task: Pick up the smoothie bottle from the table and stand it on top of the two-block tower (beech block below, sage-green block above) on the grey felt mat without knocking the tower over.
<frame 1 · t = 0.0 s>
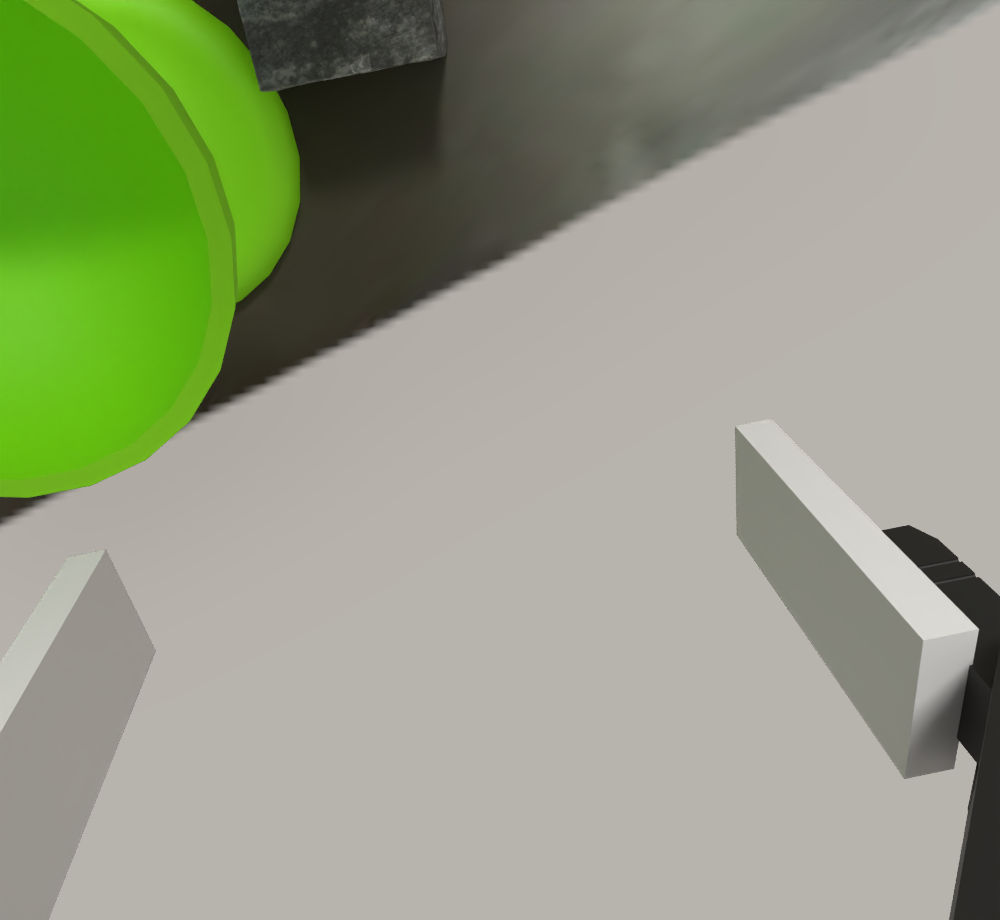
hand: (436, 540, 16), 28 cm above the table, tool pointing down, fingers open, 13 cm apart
wineglass: (132, 163, 38), on the table
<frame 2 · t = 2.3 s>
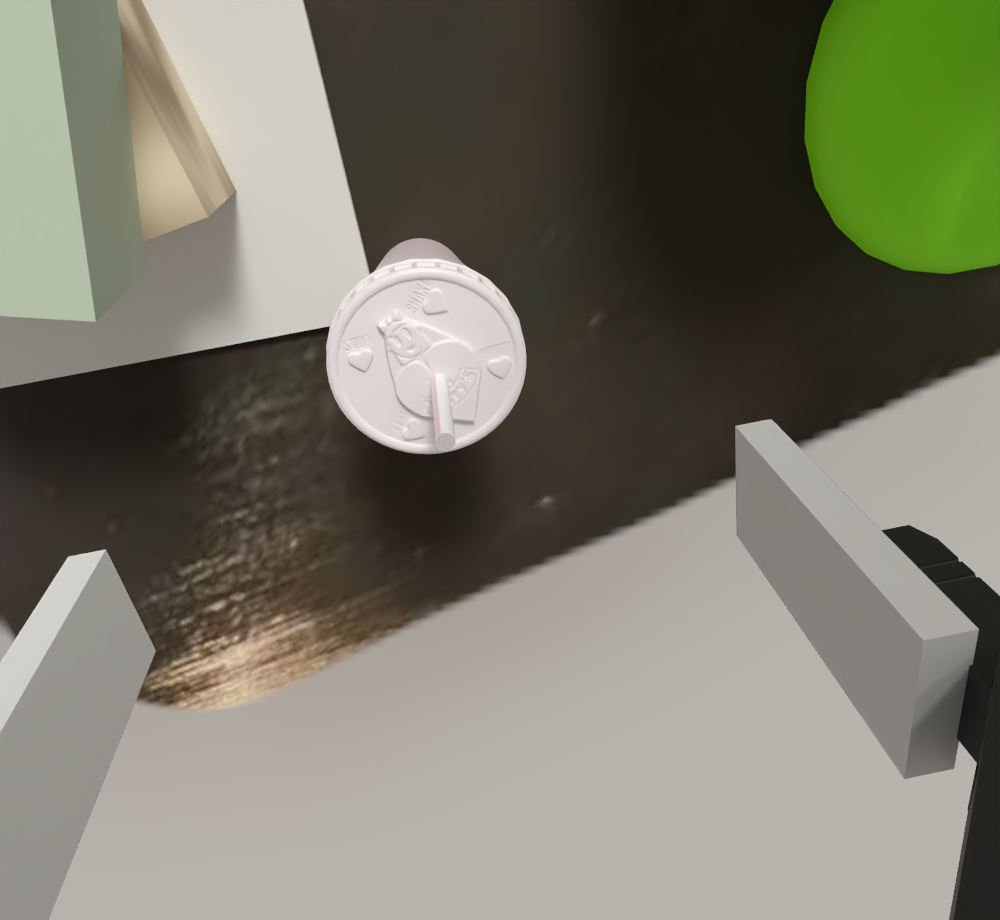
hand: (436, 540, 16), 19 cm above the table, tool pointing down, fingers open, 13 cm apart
wineglass: (992, 77, 32), on the table
smoothie: (420, 281, 33), on the table
beech block: (40, 103, 28), resting on felt mat, touching sage block
felt mat: (44, 103, 28), on the table
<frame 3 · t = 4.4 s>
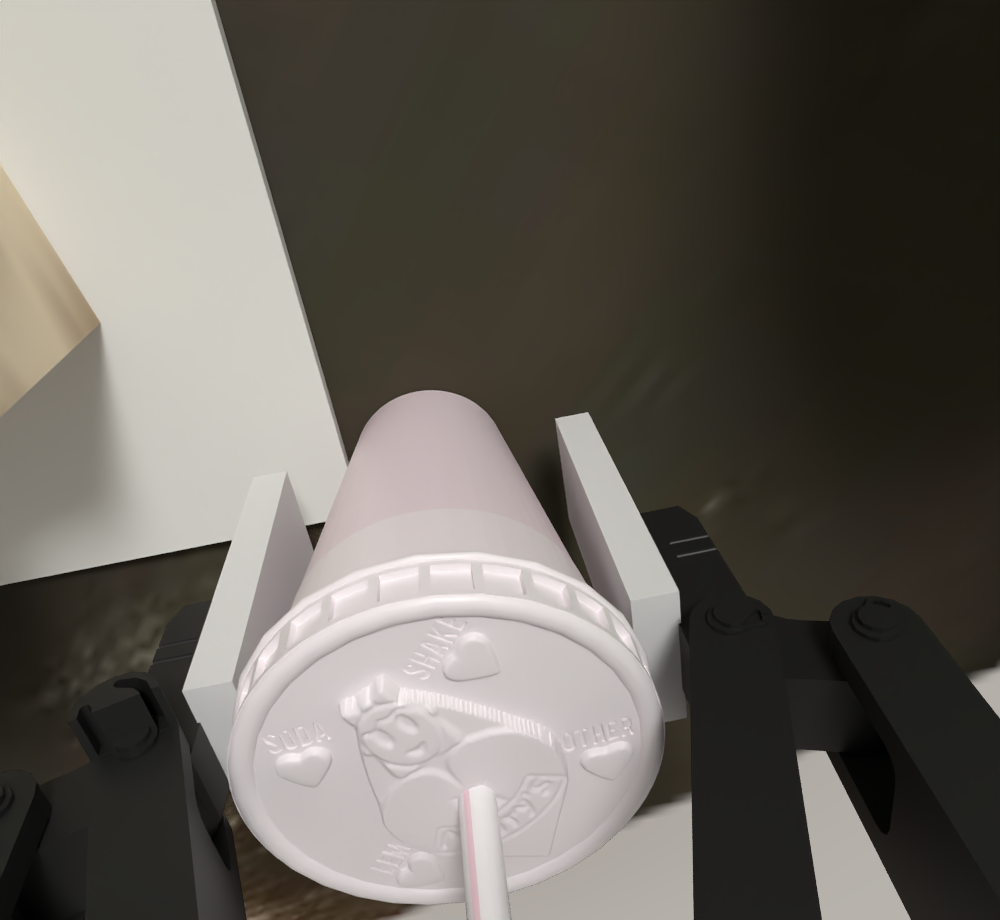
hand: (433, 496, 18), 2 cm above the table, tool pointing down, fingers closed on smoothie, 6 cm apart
smoothie: (430, 454, 20), on the table, touching gripper
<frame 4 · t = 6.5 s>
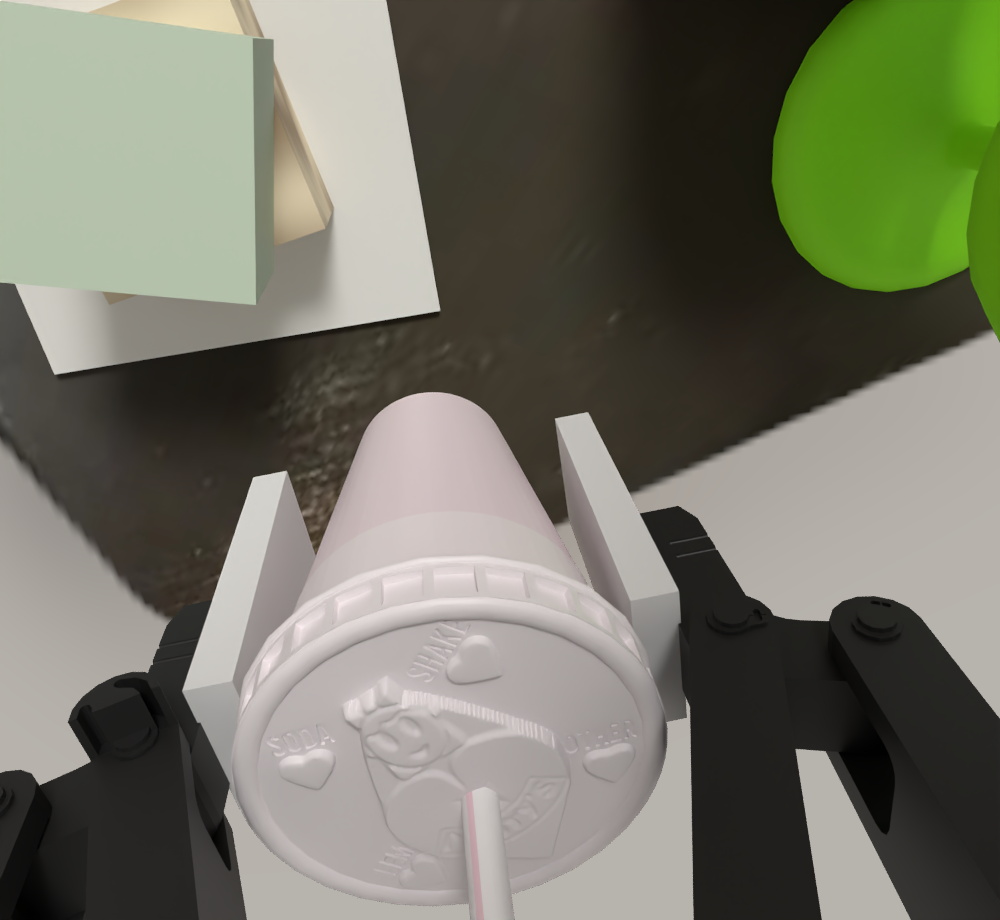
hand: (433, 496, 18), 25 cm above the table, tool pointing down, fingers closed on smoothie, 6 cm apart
sage block: (157, 149, 31), point 5 cm above the table, touching beech block
wineglass: (920, 137, 40), on the table
smoothie: (432, 455, 20), point 23 cm above the table, touching gripper
beech block: (187, 136, 36), resting on felt mat, touching sage block
felt mat: (189, 135, 36), on the table
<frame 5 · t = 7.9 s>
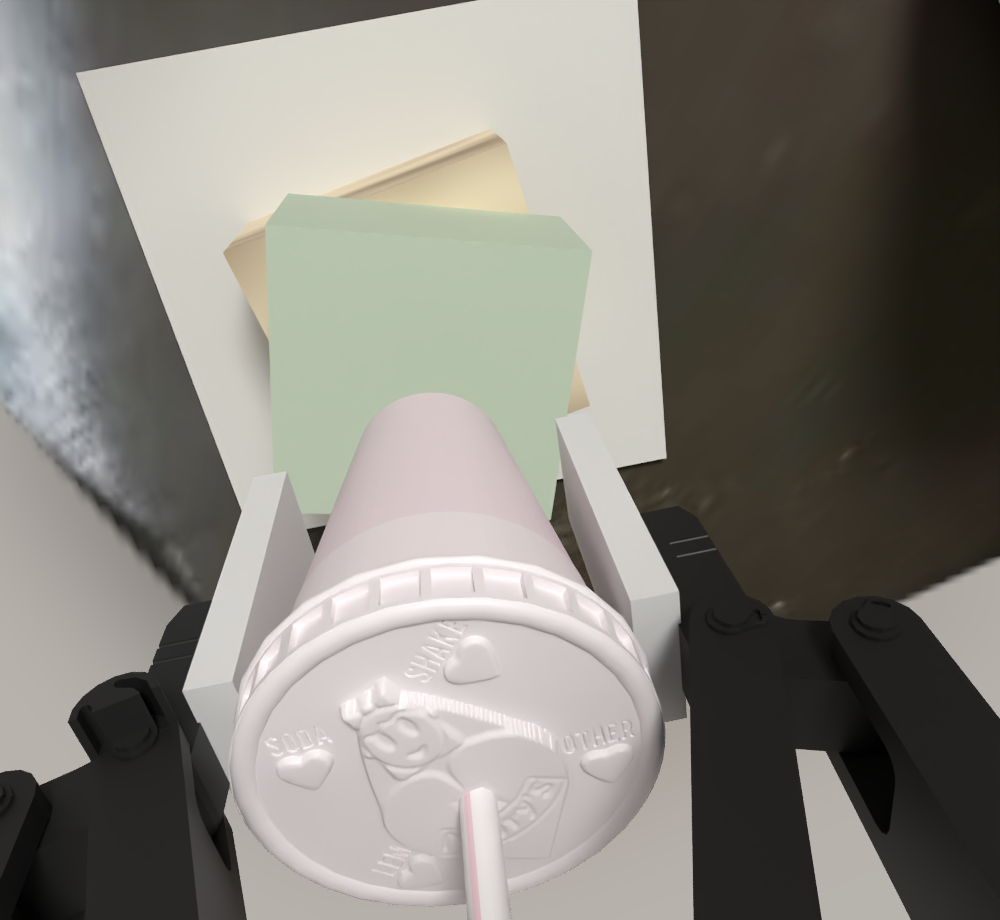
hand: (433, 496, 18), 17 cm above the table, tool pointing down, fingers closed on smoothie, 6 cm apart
sage block: (420, 335, 28), point 5 cm above the table, touching beech block
smoothie: (430, 456, 20), point 15 cm above the table, touching gripper
beech block: (417, 295, 32), resting on felt mat, touching sage block
felt mat: (416, 292, 33), on the table
when the fingers open (13 cm above the table, at t = 9.0 s): smoothie moves 2 cm, resting on sage block.
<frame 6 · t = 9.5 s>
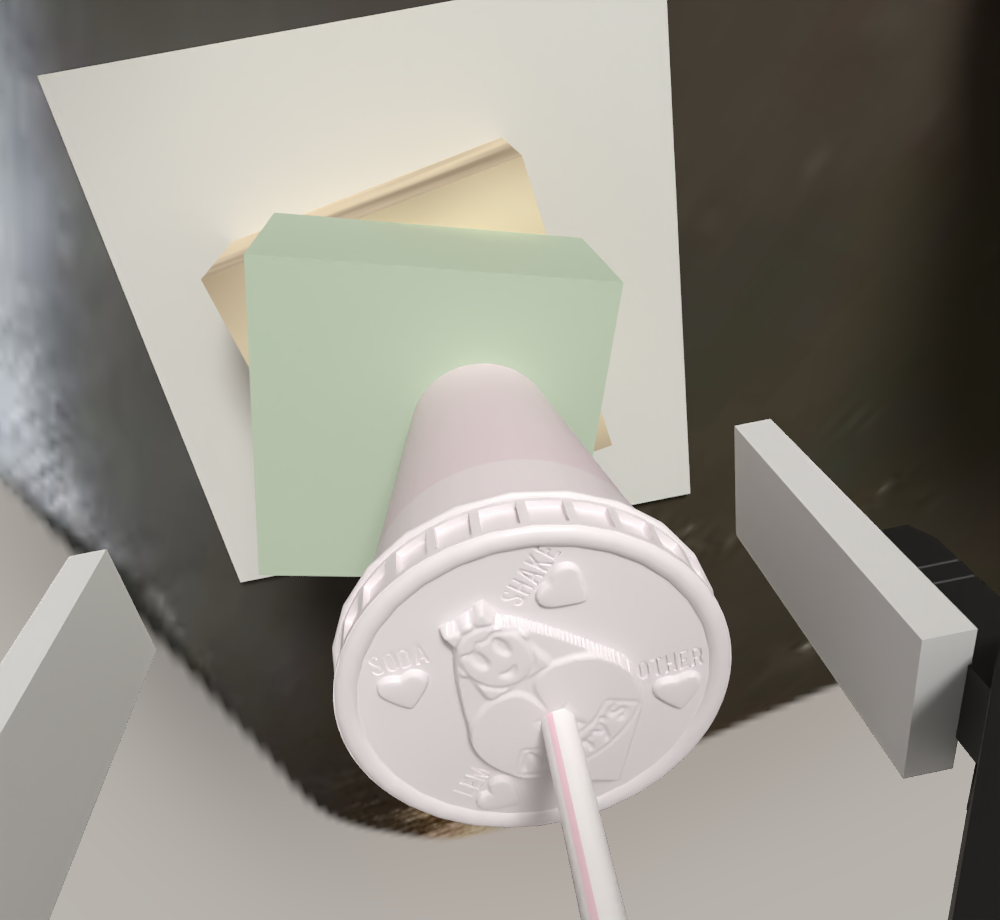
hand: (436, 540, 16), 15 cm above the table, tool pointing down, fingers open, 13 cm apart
sage block: (423, 369, 25), point 5 cm above the table, touching beech block, smoothie
smoothie: (480, 425, 21), point 10 cm above the table, touching sage block
beech block: (419, 320, 29), resting on felt mat, touching sage block
felt mat: (419, 317, 30), on the table
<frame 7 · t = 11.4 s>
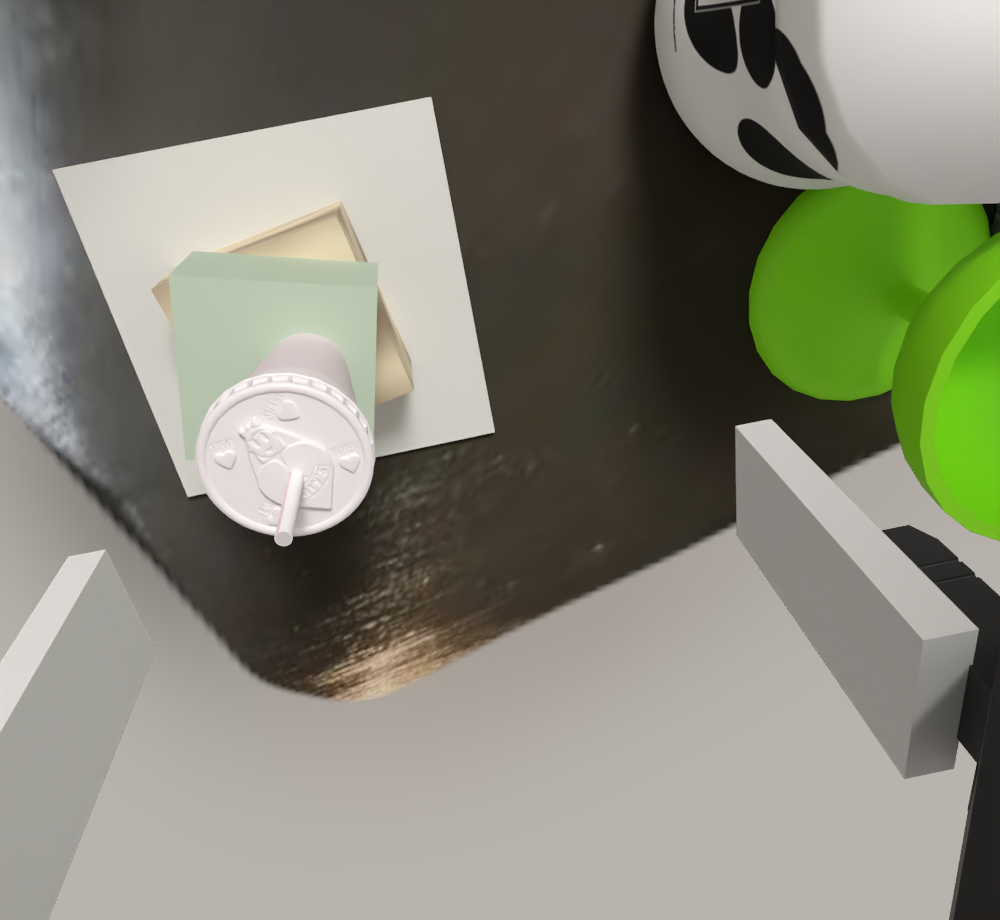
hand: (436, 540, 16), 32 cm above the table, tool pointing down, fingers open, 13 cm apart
sage block: (289, 343, 41), point 5 cm above the table, touching beech block, smoothie
wineglass: (867, 283, 50), on the table
smoothie: (308, 369, 37), point 10 cm above the table, touching sage block
beech block: (298, 315, 46), resting on felt mat, touching sage block
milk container: (789, 6, 42), on the table
felt mat: (298, 313, 46), on the table
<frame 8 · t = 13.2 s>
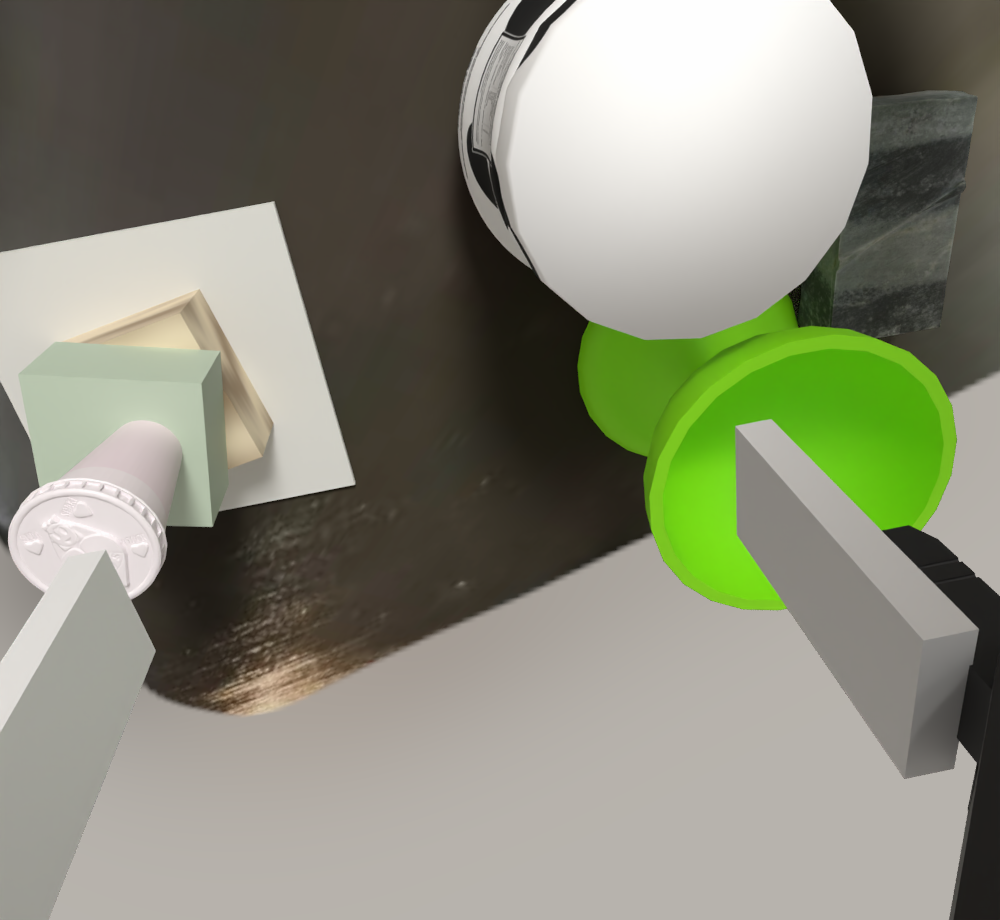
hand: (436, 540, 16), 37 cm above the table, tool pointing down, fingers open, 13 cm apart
sage block: (147, 417, 47), point 5 cm above the table, touching beech block, smoothie
wineglass: (687, 358, 56), on the table
smoothie: (148, 448, 43), point 10 cm above the table, touching sage block
beech block: (168, 385, 52), resting on felt mat, touching sage block
stone block: (865, 210, 52), on the table
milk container: (594, 123, 48), on the table
felt mat: (170, 383, 52), on the table
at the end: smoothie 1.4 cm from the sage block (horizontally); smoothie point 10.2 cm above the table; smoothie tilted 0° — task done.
